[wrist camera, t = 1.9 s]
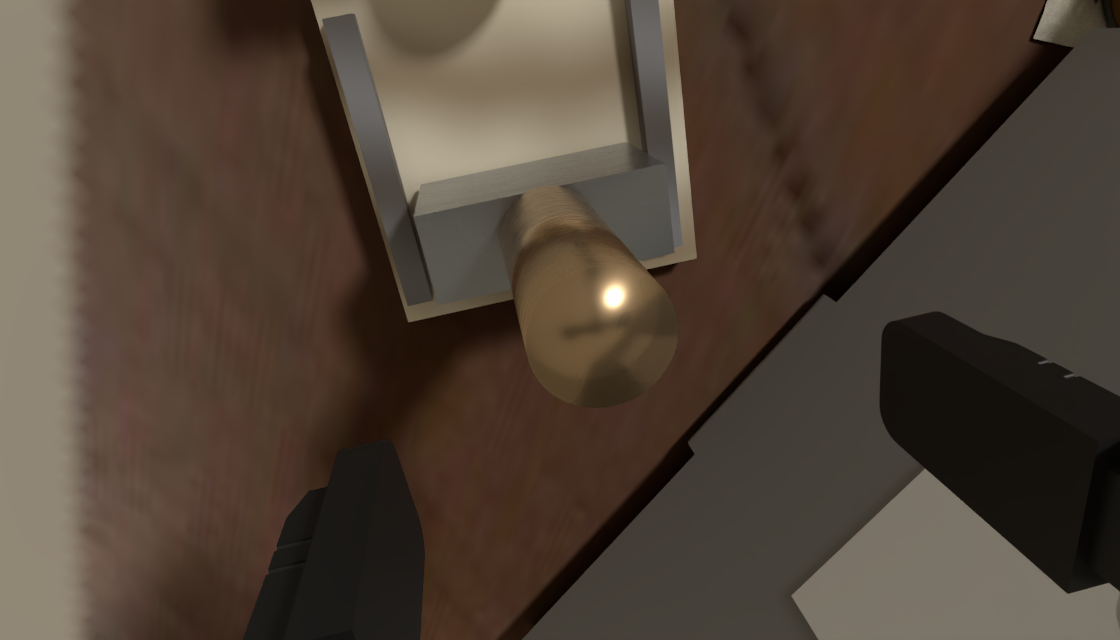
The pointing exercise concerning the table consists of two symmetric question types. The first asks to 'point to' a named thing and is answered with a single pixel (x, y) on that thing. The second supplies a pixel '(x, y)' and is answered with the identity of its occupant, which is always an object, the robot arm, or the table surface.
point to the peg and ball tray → (500, 102)
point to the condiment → (1076, 20)
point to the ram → (564, 263)
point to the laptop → (860, 435)
